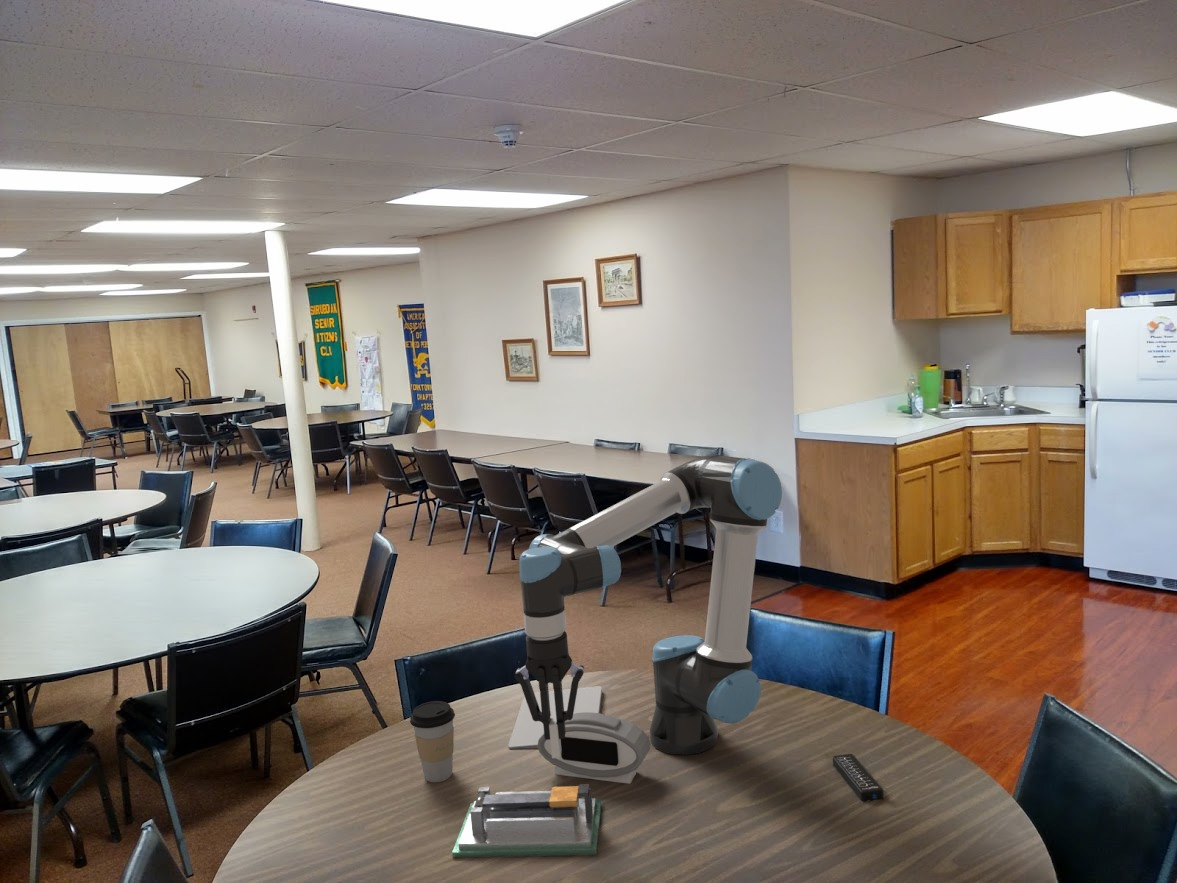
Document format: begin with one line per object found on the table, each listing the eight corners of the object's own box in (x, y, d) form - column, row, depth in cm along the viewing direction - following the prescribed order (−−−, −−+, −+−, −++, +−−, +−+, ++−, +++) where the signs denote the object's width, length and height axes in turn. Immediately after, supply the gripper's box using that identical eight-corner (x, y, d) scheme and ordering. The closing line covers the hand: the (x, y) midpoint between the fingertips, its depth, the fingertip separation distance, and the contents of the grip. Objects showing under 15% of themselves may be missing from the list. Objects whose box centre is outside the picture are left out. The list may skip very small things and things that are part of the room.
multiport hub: (852, 763, 179) (852, 753, 178) (884, 801, 164) (884, 789, 164) (832, 766, 178) (832, 755, 178) (862, 804, 164) (861, 792, 164)
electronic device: (595, 748, 193) (595, 739, 193) (507, 750, 194) (507, 742, 194) (602, 693, 221) (601, 685, 221) (525, 696, 223) (524, 688, 222)
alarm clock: (539, 774, 182) (534, 717, 181) (550, 760, 188) (545, 705, 186) (644, 788, 174) (640, 728, 173) (652, 772, 180) (648, 714, 178)
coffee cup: (451, 787, 179) (444, 719, 177) (408, 785, 181) (401, 718, 179) (466, 764, 189) (460, 699, 187) (426, 763, 191) (419, 698, 189)
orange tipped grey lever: (579, 794, 163) (578, 786, 163) (577, 809, 158) (576, 800, 158) (479, 798, 165) (478, 789, 165) (474, 813, 160) (473, 804, 160)
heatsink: (601, 804, 169) (598, 766, 168) (596, 854, 153) (592, 812, 152) (471, 807, 171) (467, 769, 170) (452, 857, 156) (448, 815, 154)
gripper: (583, 624, 160) (593, 743, 163) (514, 627, 161) (525, 745, 164) (579, 639, 152) (590, 763, 156) (507, 642, 153) (519, 766, 157)
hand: (556, 754), depth 160 cm, fingers closed
